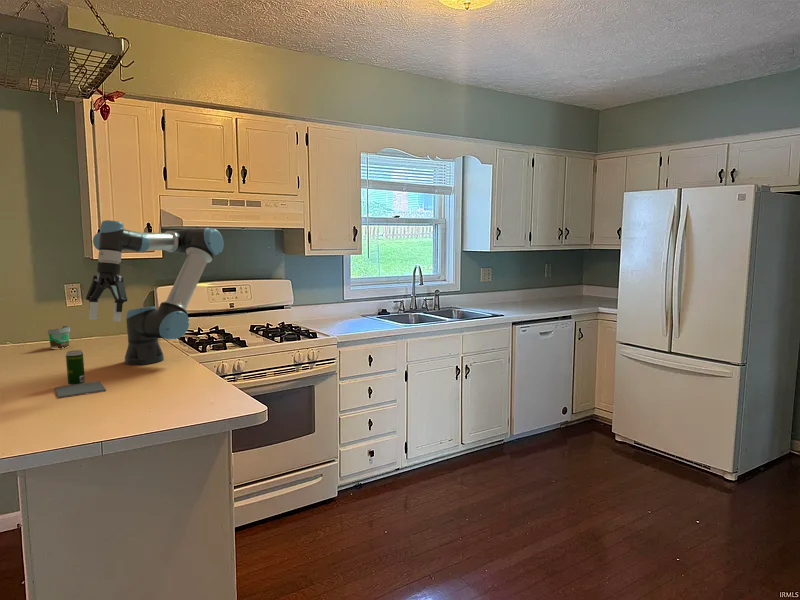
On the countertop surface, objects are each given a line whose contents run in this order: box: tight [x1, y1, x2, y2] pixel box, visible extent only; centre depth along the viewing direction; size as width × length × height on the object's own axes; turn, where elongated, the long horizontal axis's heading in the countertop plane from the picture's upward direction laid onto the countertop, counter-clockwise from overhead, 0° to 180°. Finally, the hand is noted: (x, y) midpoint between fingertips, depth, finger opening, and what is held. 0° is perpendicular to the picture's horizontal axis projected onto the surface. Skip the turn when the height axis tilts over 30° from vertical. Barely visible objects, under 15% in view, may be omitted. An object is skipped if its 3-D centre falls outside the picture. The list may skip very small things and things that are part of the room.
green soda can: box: [65, 349, 86, 386], centre depth 201 cm, size 5×5×12 cm
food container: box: [47, 325, 71, 349], centre depth 269 cm, size 12×6×10 cm, turn 179°
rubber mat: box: [54, 380, 107, 398], centre depth 193 cm, size 14×14×1 cm
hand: (104, 320), depth 204 cm, fingers open, 13 cm apart
